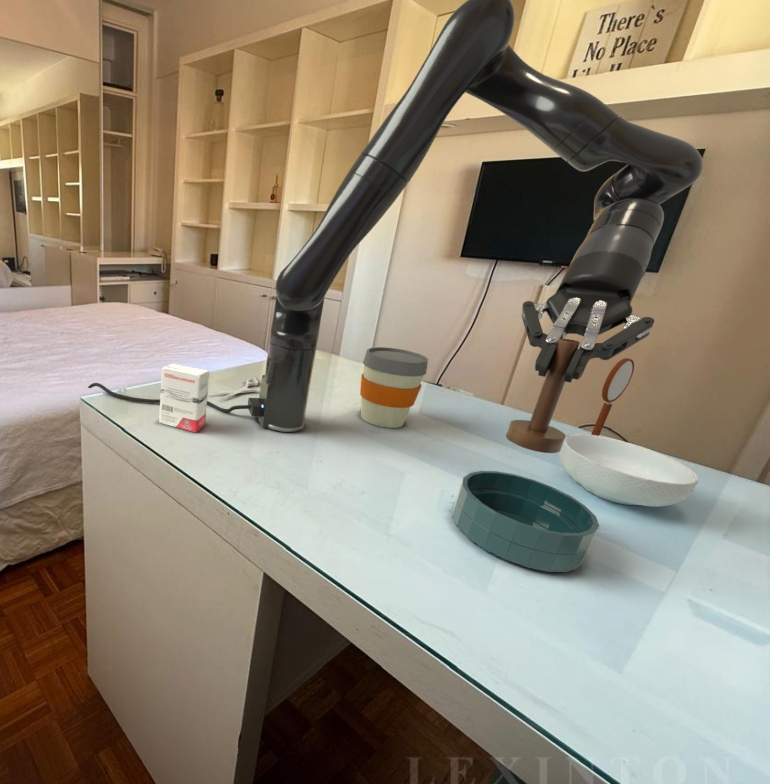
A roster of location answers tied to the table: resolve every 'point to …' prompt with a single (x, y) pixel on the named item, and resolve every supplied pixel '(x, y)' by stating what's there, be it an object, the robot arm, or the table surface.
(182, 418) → the ink box
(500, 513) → the mixing bowl
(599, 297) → the robot arm
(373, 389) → the reusable coffee cup
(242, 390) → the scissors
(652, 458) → the cereal bowl
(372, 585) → the table surface
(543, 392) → the wooden peg stand
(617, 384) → the magnifying glass
